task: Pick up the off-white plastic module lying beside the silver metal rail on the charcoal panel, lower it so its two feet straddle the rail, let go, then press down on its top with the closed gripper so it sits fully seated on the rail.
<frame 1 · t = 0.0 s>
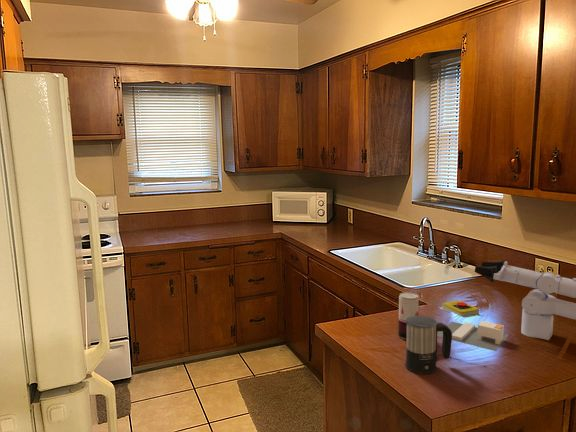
hand: (478, 266, 171), 22 cm above the worktop, tool horizontal, fingers open, 7 cm apart
emergency button: (459, 313, 186), on the worktop
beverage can: (407, 337, 164), on the worktop
module: (490, 339, 158), point 1 cm above the worktop, touching rail panel
rail panel: (471, 337, 162), on the worktop
milk frother: (419, 361, 145), on the worktop
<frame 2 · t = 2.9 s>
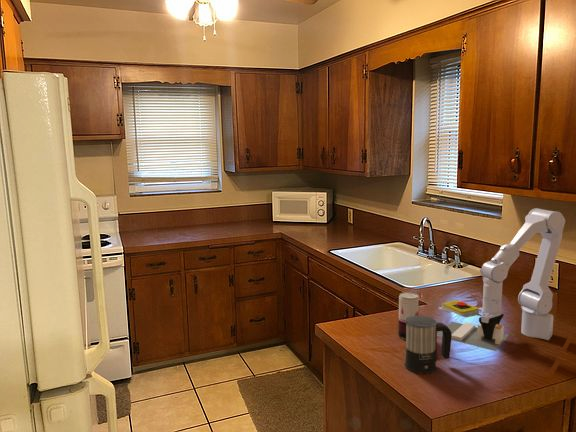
hand: (490, 336, 157), 2 cm above the worktop, tool pointing down, fingers closed on module, 4 cm apart
module: (490, 339, 158), point 1 cm above the worktop, touching gripper, rail panel
everything else where it was.
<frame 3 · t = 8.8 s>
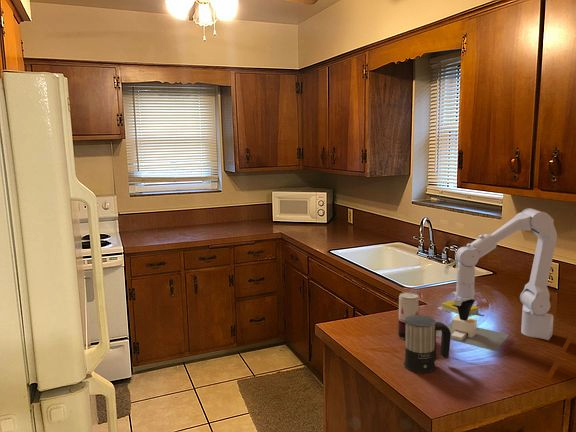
hand: (463, 319, 163), 6 cm above the worktop, tool pointing down, fingers closed, pressing on module
module: (463, 333, 163), point 1 cm above the worktop, touching gripper, rail panel
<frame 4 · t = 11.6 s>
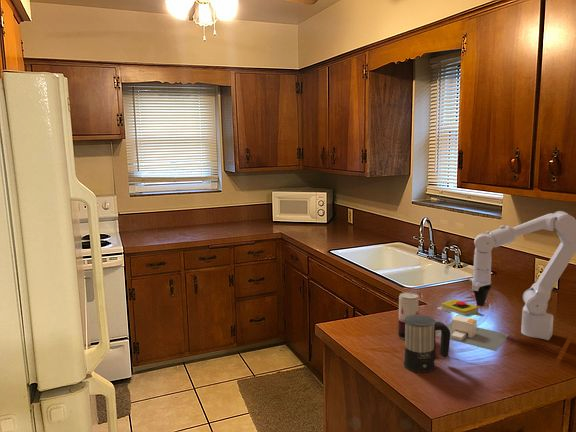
hand: (480, 305, 166), 9 cm above the worktop, tool pointing down, fingers closed
module: (463, 333, 163), point 1 cm above the worktop, touching rail panel
at the end: module inside the target area on the rail panel (0.2 cm from its centre), point 1.0 cm above the rail panel's base; module tilted 0°; the gripper is holding nothing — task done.
